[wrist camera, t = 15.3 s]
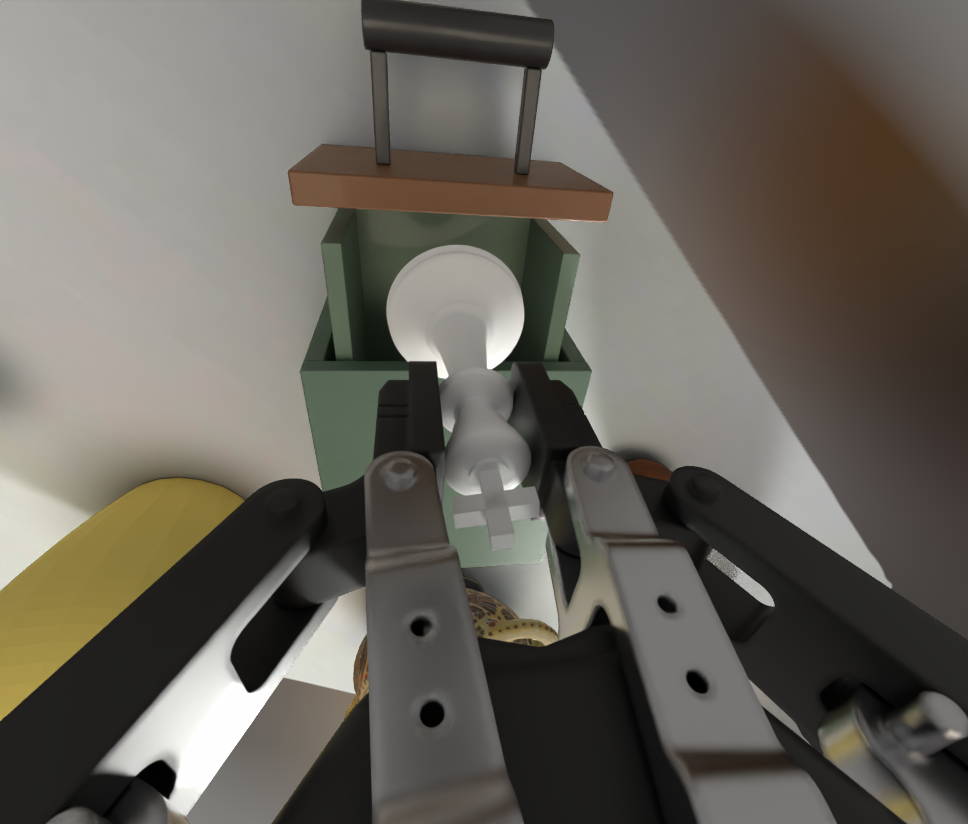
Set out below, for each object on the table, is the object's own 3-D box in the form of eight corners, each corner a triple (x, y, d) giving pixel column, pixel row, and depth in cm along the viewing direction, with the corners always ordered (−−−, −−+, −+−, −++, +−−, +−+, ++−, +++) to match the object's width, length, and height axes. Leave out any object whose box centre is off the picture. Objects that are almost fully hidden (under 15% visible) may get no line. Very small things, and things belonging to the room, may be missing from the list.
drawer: (304, 3, 19) (254, -32, 13) (582, 37, 21) (654, 21, 15) (348, 386, 31) (333, 465, 25) (525, 385, 33) (552, 458, 27)
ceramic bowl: (500, 499, 46) (506, 624, 32) (583, 604, 52) (617, 747, 38) (322, 595, 51) (262, 736, 38) (415, 679, 58) (393, 826, 44)
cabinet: (329, 288, 28) (299, 370, 20) (544, 294, 30) (592, 370, 22) (352, 472, 37) (338, 577, 29) (515, 466, 39) (541, 562, 31)
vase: (26, 505, 34) (-657, 1277, 12) (187, 416, 32) (-321, 1203, 10) (197, 596, 44) (-16, 1124, 22) (332, 533, 41) (246, 1065, 19)
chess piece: (373, 251, 14) (334, 462, 7) (523, 237, 15) (655, 422, 7) (398, 378, 17) (391, 629, 10) (522, 364, 18) (614, 594, 10)
